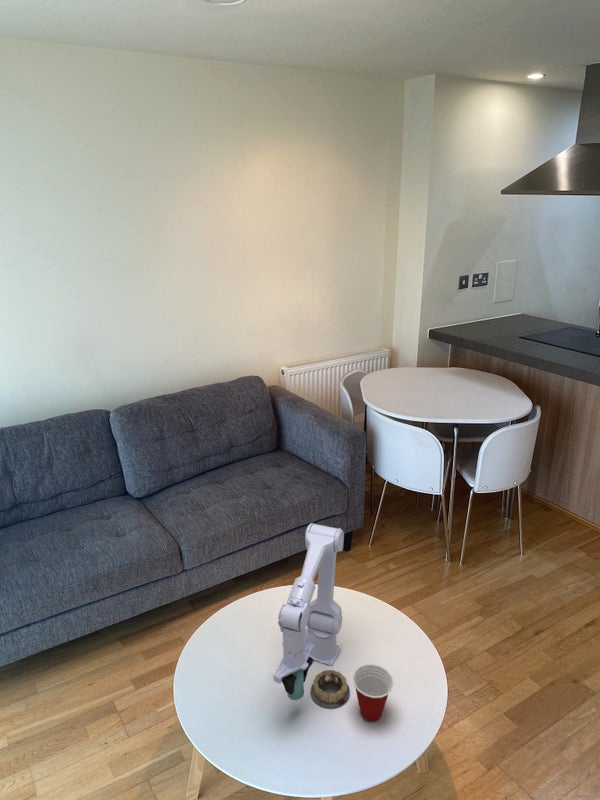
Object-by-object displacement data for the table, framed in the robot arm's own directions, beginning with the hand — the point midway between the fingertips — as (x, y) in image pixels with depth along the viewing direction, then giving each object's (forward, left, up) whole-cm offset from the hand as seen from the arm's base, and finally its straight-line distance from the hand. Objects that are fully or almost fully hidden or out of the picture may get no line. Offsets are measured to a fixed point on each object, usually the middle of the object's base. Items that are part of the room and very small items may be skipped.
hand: (295, 686), depth 157 cm
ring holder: (+6, +10, -9) cm, 15 cm away
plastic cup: (+19, +8, -10) cm, 23 cm away
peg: (0, 0, -2) cm, 2 cm away
